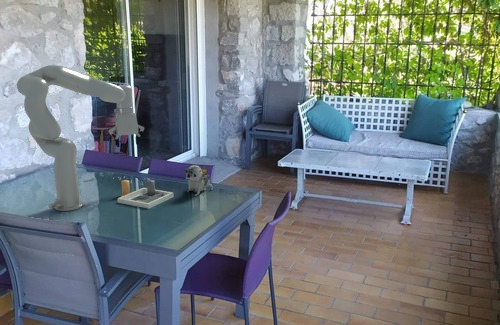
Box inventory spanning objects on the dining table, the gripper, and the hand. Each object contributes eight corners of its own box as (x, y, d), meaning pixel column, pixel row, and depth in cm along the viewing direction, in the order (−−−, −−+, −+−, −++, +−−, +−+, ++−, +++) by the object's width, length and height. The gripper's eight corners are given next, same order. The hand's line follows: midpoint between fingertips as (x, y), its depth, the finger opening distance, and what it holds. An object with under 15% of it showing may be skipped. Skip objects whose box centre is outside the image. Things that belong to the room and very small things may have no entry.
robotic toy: (177, 196, 233) (175, 166, 229) (197, 187, 248) (196, 158, 244) (199, 200, 227) (198, 169, 223) (219, 190, 242) (218, 161, 238)
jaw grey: (152, 199, 227) (151, 182, 225) (144, 197, 229) (143, 181, 227) (158, 196, 231) (157, 180, 229) (150, 195, 233) (149, 179, 231)
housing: (148, 210, 215) (148, 204, 214) (118, 204, 223) (117, 198, 222) (173, 198, 230) (173, 192, 229) (143, 193, 238) (143, 187, 238)
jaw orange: (126, 199, 230) (125, 183, 228) (119, 197, 233) (118, 181, 231) (133, 196, 234) (132, 180, 232) (126, 195, 236) (124, 179, 234)
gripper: (109, 113, 228) (112, 149, 232) (145, 110, 236) (147, 145, 241) (105, 111, 234) (108, 146, 239) (140, 108, 243) (142, 142, 247)
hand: (127, 145), depth 240 cm, fingers open, 9 cm apart
